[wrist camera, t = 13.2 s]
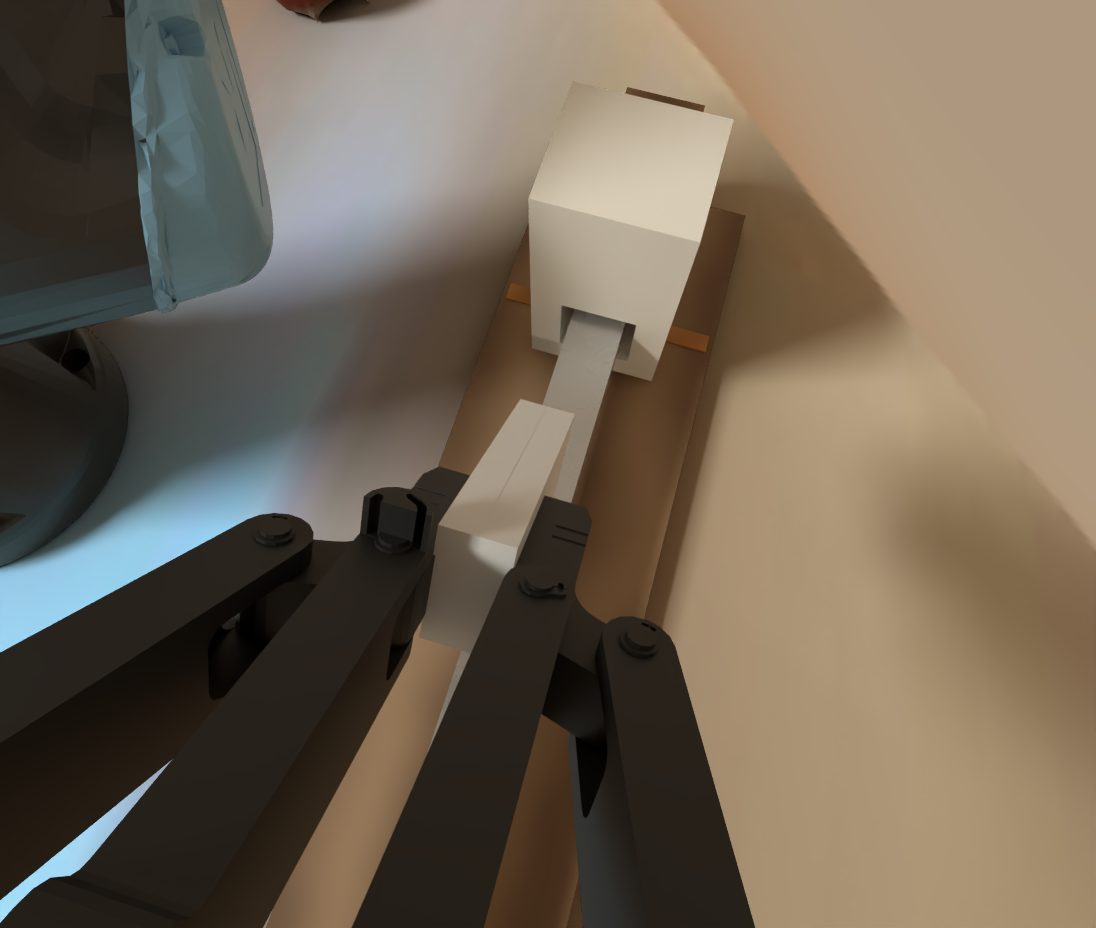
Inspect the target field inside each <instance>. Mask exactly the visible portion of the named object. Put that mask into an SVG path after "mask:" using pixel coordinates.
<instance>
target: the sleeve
mask: <svg viewBox="0 0 1096 928" xmlns="http://www.w3.org/2000/svg"><path fill="white" fill-rule="evenodd" d="M733 121H734V119H730V118H725V117H721V116H717V115H713V114H709V113H705V112H700V111H696V110H692V109H688V108H684V107H679V106H675V105H671V104H667V103H663V102H659V101H654V100H650V99H646V98H642V97H638V96H634V95H629V94H625V93H621V92H617V91H613V90H609V89H604V88H600V87H596V86H592V85H588V84H584V83H579V82H575V81H573V82H572V84H571V87H570V90H569V92H568V95H567V97H566V100H565V103H564V105H563V108H562V111H561V113H560V116H559V119H558V121H557V124H556V127H555V129H554V132H553V135H552V137H551V140H550V142H549V145H548V148H547V150H546V153H545V156H544V158H543V161H542V164H541V166H540V169H539V172H538V174H537V177H536V179H535V182H534V185H533V187H532V190H531V193H530V195H529V198H528V205H529V247H530V289H531V331H532V349H536V350H540V351H543V352H547V353H551V354H554V355H558V356H559V353H560V350H561V347H562V344H563V341H564V338H565V335H566V332H567V329H568V326H569V323H570V320H571V317H572V314H573V311H574V309H578V310H581V311H585V312H589V313H592V314H596V315H600V316H604V317H607V318H611V319H615V320H619V321H622V322H626V323H627V325H626V328H625V332H624V335H623V338H622V342H621V345H620V348H619V352H618V355H617V358H616V362H615V365H614V368H613V371H616V372H620V373H623V374H627V375H631V376H634V377H638V378H642V379H645V380H649V381H652V378H653V376H654V373H655V370H656V367H657V364H658V361H659V359H660V356H661V353H662V350H663V347H664V344H665V341H666V339H667V336H668V333H669V330H670V327H671V324H672V322H673V319H674V316H675V313H676V310H677V307H678V305H679V302H680V299H681V296H682V293H683V290H684V287H685V285H686V282H687V279H688V276H689V273H690V270H691V268H692V265H693V262H694V259H695V256H696V253H697V251H698V248H699V245H700V242H701V238H702V235H703V231H704V227H705V224H706V220H707V216H708V213H709V209H710V205H711V202H712V198H713V194H714V191H715V187H716V183H717V180H718V176H719V172H720V168H721V165H722V161H723V157H724V154H725V150H726V146H727V143H728V139H729V135H730V132H731V128H732V124H733Z"/></svg>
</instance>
